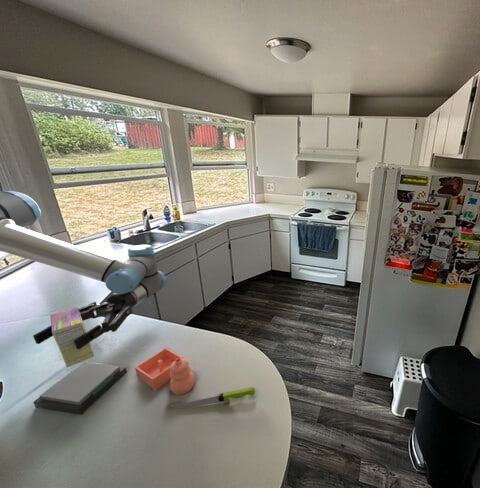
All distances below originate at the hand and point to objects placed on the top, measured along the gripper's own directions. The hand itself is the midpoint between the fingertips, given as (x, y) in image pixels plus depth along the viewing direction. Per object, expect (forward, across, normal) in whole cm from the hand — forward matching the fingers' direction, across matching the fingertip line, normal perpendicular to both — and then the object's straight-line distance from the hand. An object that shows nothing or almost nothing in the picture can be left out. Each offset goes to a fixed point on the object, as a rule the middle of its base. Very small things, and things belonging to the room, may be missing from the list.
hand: (55, 342), depth 66 cm
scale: (-2, -1, -18) cm, 18 cm away
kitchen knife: (-3, -41, -18) cm, 45 cm away
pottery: (-8, -23, -18) cm, 31 cm away
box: (-4, 0, -7) cm, 8 cm away
